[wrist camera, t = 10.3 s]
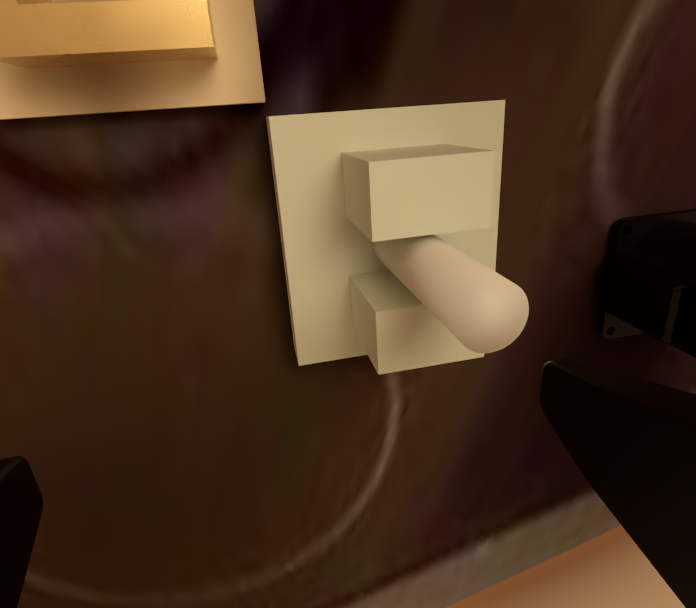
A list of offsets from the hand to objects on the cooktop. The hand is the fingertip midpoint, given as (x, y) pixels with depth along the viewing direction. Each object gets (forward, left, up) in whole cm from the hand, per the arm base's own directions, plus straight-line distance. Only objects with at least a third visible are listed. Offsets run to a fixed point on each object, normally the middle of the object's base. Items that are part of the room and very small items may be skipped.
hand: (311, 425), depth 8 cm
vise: (-5, 0, -13) cm, 14 cm away
